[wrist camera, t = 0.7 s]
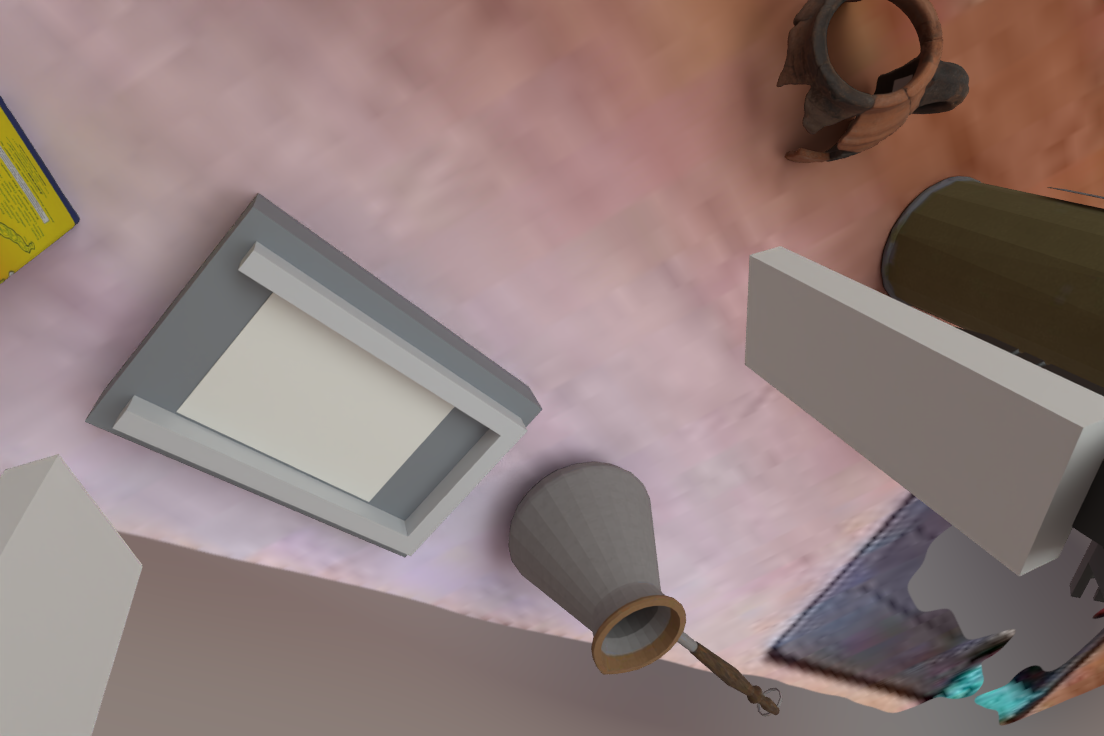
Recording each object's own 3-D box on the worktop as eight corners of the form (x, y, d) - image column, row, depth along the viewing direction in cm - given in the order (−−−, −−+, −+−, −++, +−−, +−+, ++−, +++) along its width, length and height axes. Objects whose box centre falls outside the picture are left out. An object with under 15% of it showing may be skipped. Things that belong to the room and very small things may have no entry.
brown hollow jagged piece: (741, 174, 40) (801, 128, 32) (738, 30, 40) (798, -55, 31) (913, 174, 41) (1016, 129, 32) (912, 33, 40) (1015, -49, 32)
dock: (102, 392, 32) (74, 438, 29) (258, 192, 30) (250, 214, 27) (400, 527, 43) (408, 573, 40) (528, 387, 41) (549, 421, 38)
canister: (951, 305, 52) (1250, 430, 35) (861, 303, 48) (1147, 441, 32) (1011, 176, 47) (1387, 250, 31) (916, 163, 43) (1286, 238, 27)
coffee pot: (468, 529, 45) (525, 713, 33) (568, 419, 44) (668, 569, 31) (637, 608, 57) (726, 767, 45) (721, 524, 55) (839, 664, 43)
